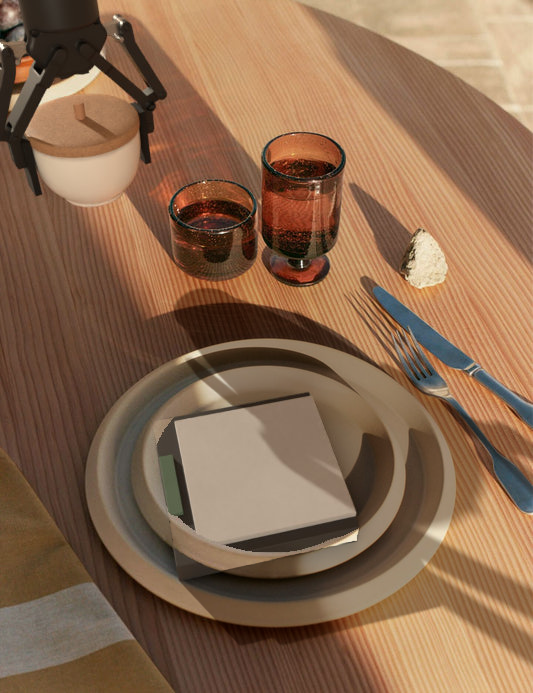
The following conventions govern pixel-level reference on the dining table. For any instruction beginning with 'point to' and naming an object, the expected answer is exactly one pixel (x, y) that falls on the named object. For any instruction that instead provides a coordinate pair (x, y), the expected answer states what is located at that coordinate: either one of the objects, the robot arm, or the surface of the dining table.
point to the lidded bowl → (86, 147)
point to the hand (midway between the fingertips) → (91, 174)
